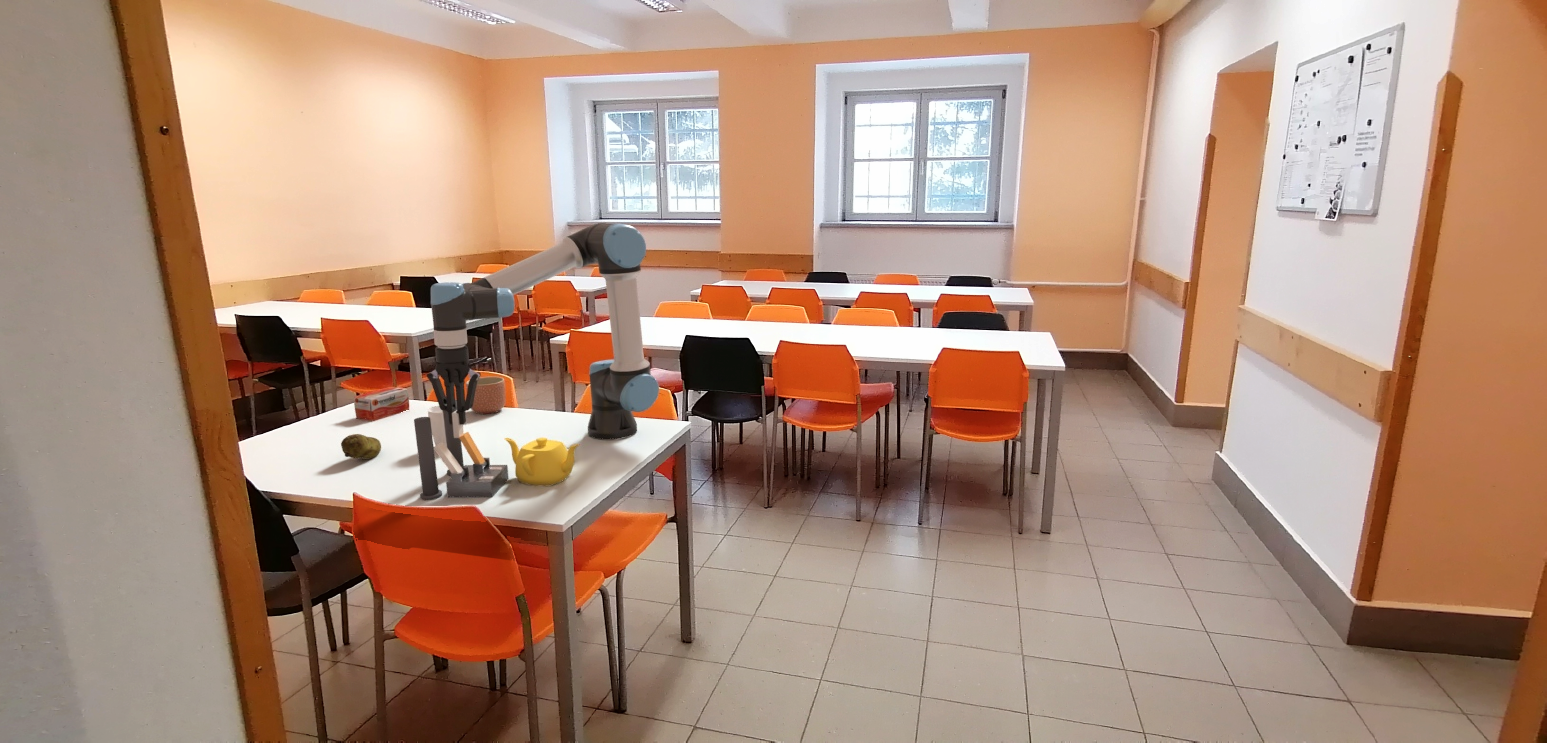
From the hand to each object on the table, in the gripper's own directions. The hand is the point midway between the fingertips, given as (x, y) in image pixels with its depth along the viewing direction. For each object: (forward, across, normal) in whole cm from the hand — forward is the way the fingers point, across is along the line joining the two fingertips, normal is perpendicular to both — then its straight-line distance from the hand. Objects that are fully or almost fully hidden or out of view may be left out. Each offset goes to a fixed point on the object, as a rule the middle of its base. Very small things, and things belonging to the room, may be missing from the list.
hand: (458, 436), depth 192 cm
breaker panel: (+13, -5, +3) cm, 14 cm away
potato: (+14, +36, -20) cm, 43 cm away
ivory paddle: (+8, -2, +6) cm, 10 cm away
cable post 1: (+13, +5, +8) cm, 16 cm away
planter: (+13, +18, -67) cm, 70 cm away
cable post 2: (+13, +5, -8) cm, 16 cm away
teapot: (+13, -20, -3) cm, 24 cm away
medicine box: (+15, +53, -64) cm, 84 cm away
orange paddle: (+8, -5, 0) cm, 9 cm away
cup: (+13, +16, -29) cm, 35 cm away
